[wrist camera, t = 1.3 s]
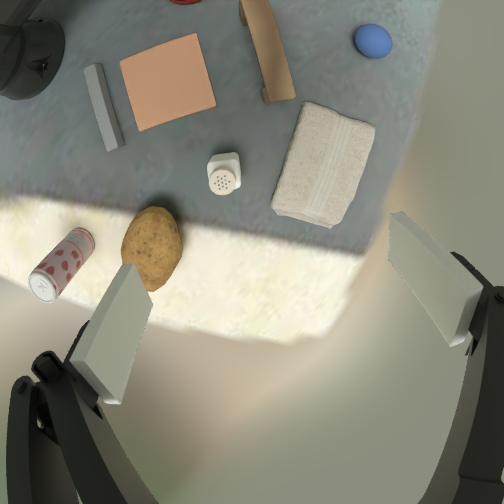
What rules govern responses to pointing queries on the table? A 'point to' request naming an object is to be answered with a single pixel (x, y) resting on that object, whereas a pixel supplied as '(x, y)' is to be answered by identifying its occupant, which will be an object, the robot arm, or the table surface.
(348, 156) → the washcloth
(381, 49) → the ball
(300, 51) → the table surface
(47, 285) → the beverage can
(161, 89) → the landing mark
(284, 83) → the bridge
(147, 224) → the potato
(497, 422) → the robot arm
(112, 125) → the grey long bar
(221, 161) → the salt shaker
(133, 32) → the table surface
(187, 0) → the canned food
